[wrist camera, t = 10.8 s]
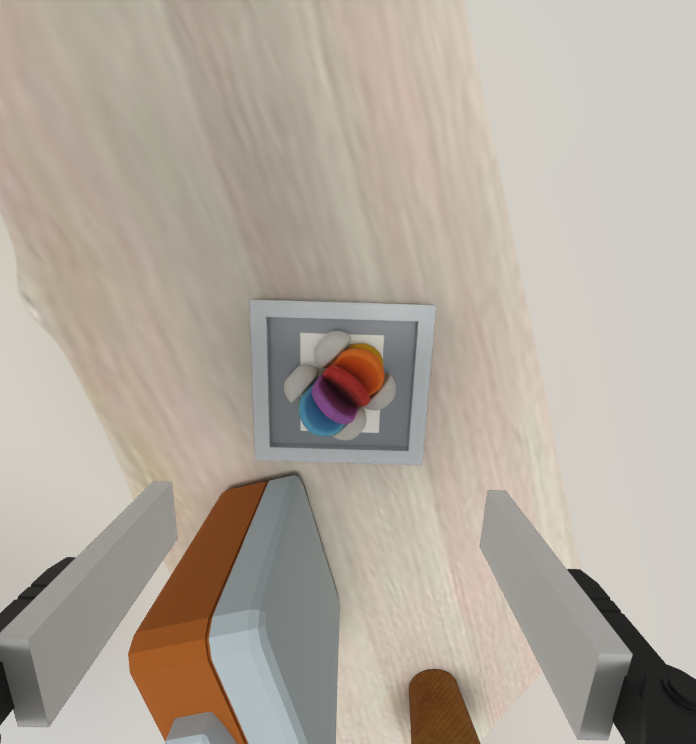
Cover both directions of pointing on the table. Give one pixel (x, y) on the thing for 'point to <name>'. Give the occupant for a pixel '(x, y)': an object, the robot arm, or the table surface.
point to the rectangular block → (245, 628)
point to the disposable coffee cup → (439, 711)
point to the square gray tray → (296, 347)
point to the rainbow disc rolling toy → (340, 387)
